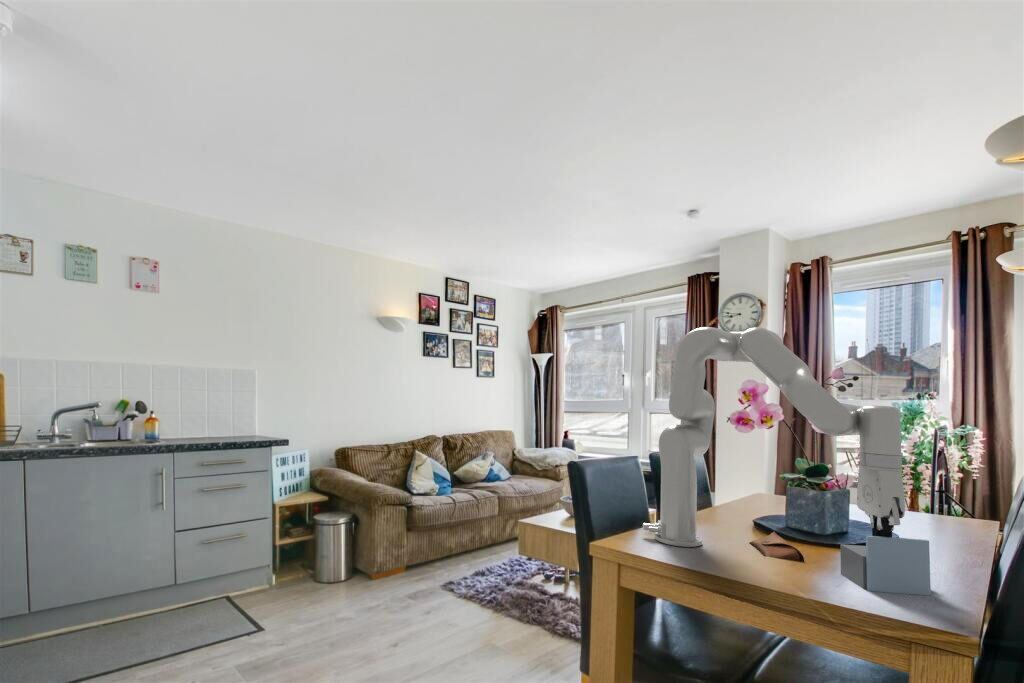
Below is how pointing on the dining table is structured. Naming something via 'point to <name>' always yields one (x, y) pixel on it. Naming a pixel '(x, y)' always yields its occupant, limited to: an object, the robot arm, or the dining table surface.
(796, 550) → the sunglasses case
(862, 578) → the block
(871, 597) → the dining table surface
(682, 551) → the dining table surface
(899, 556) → the side door
